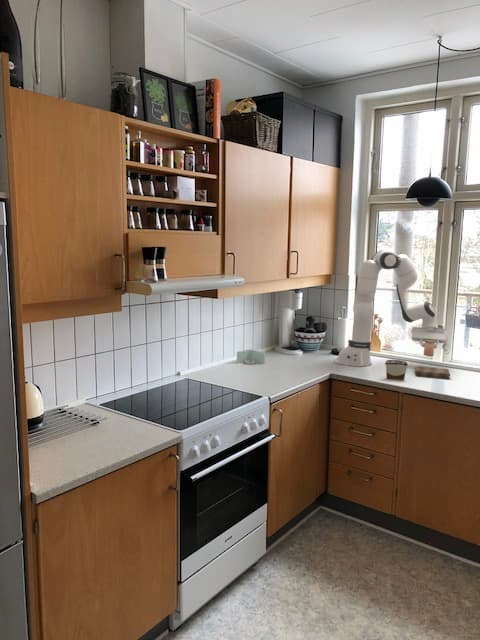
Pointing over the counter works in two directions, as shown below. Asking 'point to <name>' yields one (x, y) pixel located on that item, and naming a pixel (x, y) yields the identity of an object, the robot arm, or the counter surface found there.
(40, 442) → the counter surface
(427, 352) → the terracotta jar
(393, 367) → the food container
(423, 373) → the walnut stand
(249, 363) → the l-shaped corner panel
